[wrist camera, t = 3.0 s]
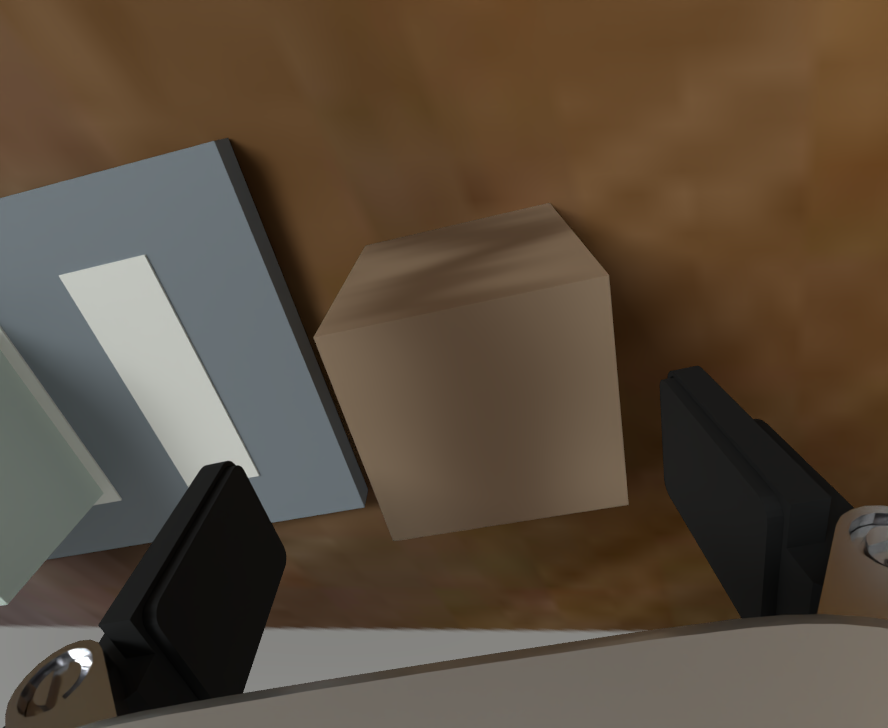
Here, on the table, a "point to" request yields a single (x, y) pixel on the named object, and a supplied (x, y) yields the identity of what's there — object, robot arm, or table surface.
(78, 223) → the board
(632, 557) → the table surface
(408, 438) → the walnut block
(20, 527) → the base block
